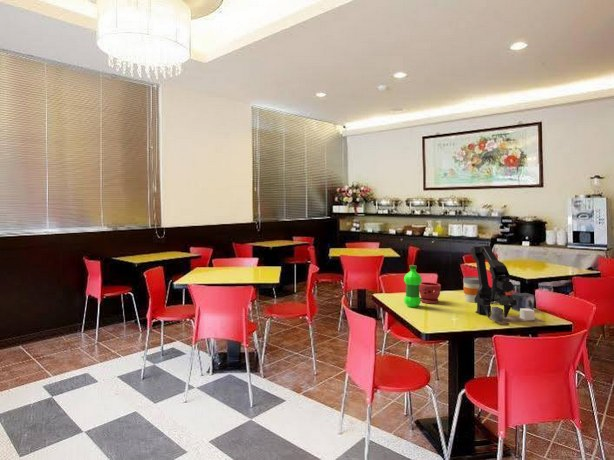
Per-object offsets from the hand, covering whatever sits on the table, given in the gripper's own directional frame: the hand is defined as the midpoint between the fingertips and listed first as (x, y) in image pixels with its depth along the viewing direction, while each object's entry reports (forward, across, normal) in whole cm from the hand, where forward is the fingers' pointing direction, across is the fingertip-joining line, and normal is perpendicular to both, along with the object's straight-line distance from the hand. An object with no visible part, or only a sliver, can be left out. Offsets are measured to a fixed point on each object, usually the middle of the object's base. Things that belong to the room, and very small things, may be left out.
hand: (497, 317), depth 215 cm
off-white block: (+1, +16, 0) cm, 17 cm away
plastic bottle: (+2, -34, +35) cm, 49 cm away
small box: (+2, +26, +19) cm, 32 cm away
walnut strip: (+2, +10, 0) cm, 11 cm away
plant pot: (+2, -19, +46) cm, 50 cm away
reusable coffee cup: (+2, +10, +47) cm, 48 cm away
